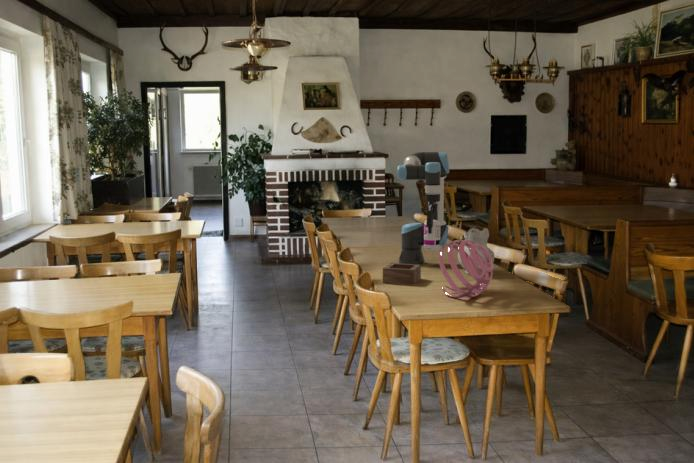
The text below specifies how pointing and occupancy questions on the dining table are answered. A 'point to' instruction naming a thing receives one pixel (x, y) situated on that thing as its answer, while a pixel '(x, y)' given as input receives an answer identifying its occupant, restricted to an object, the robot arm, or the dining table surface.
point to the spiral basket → (467, 268)
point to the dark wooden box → (402, 273)
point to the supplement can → (435, 243)
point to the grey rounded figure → (480, 239)
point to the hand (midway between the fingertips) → (432, 238)
